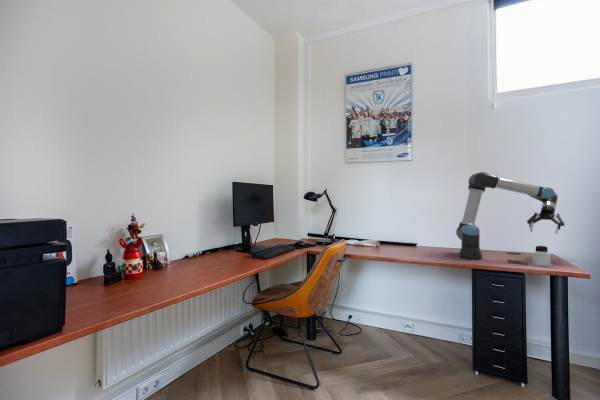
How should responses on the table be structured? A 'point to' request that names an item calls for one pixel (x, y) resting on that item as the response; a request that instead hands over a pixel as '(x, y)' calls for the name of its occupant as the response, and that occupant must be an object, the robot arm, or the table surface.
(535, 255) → the medicine bottle
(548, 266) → the grey mat
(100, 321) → the table surface
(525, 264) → the walnut stop
